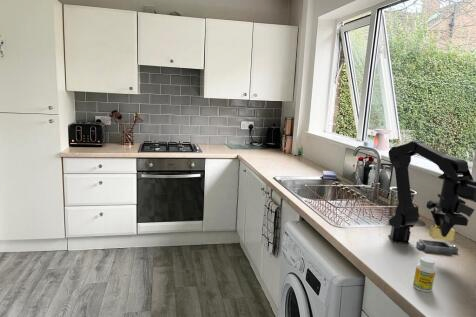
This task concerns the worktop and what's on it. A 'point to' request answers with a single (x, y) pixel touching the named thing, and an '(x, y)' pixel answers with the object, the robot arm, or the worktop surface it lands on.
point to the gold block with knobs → (437, 233)
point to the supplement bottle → (424, 274)
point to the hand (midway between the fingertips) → (441, 234)
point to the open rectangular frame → (436, 247)
